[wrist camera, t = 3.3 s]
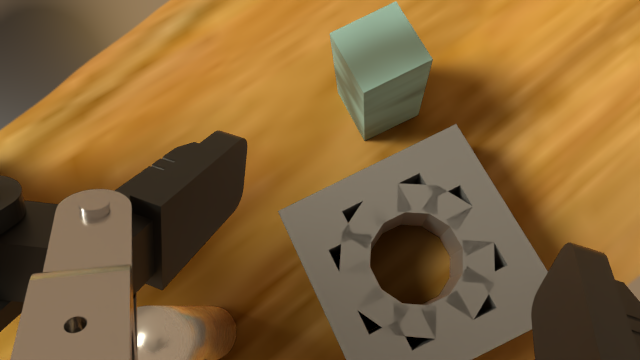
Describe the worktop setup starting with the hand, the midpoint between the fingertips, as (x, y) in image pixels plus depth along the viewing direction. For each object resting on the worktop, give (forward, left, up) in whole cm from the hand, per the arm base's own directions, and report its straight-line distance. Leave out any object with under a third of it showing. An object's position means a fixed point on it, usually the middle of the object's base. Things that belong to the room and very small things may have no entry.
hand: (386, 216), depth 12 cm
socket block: (0, +3, -25) cm, 25 cm away
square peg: (-13, +7, -25) cm, 29 cm away
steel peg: (-2, -13, -25) cm, 28 cm away
